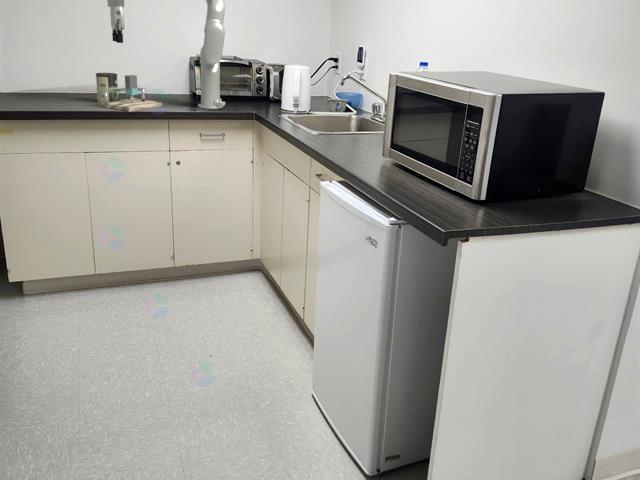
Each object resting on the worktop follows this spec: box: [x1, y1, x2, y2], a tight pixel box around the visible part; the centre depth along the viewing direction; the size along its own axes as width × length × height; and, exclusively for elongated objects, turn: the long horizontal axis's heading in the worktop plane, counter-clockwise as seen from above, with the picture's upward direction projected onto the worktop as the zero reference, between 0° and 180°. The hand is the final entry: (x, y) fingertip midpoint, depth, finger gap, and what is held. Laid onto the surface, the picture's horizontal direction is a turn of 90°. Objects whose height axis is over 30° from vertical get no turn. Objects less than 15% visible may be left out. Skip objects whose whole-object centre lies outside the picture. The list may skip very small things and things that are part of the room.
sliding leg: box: [124, 74, 139, 102], centre depth 287 cm, size 4×5×12 cm
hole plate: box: [100, 97, 163, 113], centre depth 290 cm, size 18×23×2 cm
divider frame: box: [104, 86, 146, 103], centre depth 289 cm, size 8×20×6 cm, turn 153°
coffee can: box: [95, 72, 120, 104], centre depth 297 cm, size 10×10×14 cm
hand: (117, 41), depth 282 cm, fingers open, 9 cm apart
